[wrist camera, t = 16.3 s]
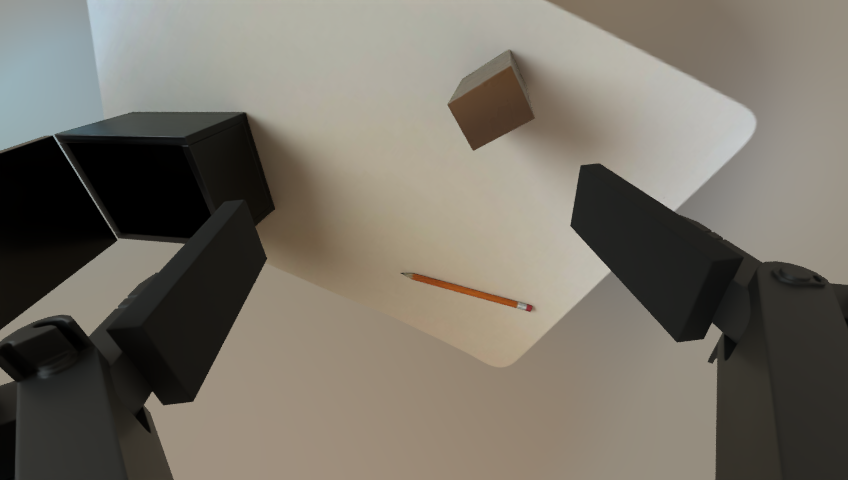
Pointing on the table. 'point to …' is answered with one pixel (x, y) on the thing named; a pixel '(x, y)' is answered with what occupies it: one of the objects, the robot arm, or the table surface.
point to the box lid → (43, 224)
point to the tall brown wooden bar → (491, 101)
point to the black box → (168, 170)
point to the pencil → (469, 291)
